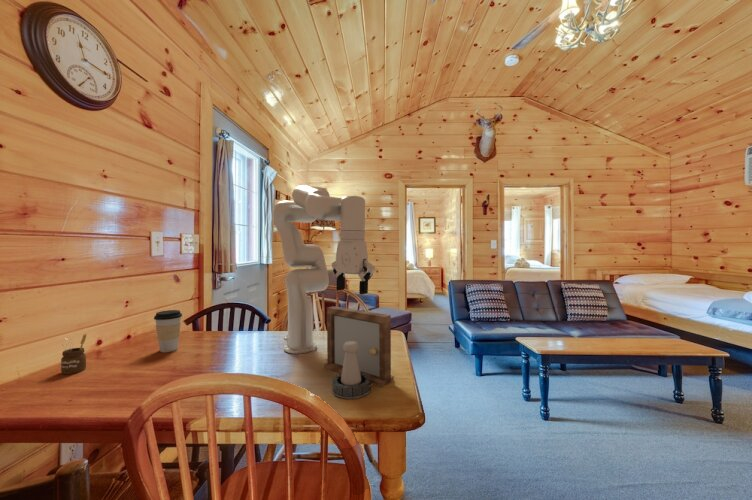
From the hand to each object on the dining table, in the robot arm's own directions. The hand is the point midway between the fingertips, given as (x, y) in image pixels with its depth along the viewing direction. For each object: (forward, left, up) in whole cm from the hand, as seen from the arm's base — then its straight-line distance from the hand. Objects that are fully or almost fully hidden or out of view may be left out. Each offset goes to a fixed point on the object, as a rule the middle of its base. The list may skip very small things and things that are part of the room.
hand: (351, 291), depth 97 cm
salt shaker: (+5, -7, -26) cm, 28 cm away
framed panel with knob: (0, +3, -27) cm, 27 cm away
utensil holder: (-76, -51, -27) cm, 96 cm away
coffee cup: (-75, -24, -27) cm, 84 cm away
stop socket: (+6, -7, -27) cm, 28 cm away
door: (0, +2, -25) cm, 25 cm away
